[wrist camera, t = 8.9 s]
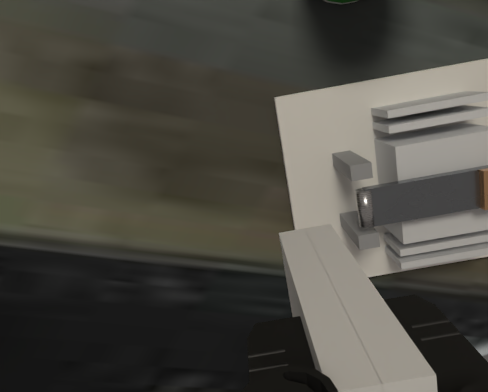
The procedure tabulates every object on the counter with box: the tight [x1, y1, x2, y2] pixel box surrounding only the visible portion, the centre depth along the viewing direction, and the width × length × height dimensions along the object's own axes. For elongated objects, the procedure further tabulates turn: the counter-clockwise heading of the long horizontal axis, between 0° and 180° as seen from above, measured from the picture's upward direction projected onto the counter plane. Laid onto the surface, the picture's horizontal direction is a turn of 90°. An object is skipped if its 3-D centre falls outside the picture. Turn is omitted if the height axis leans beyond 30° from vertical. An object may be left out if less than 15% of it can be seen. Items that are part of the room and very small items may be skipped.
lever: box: [355, 165, 488, 228], centre depth 32 cm, size 14×3×2 cm, turn 100°
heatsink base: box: [274, 58, 488, 277], centre depth 35 cm, size 24×18×9 cm
